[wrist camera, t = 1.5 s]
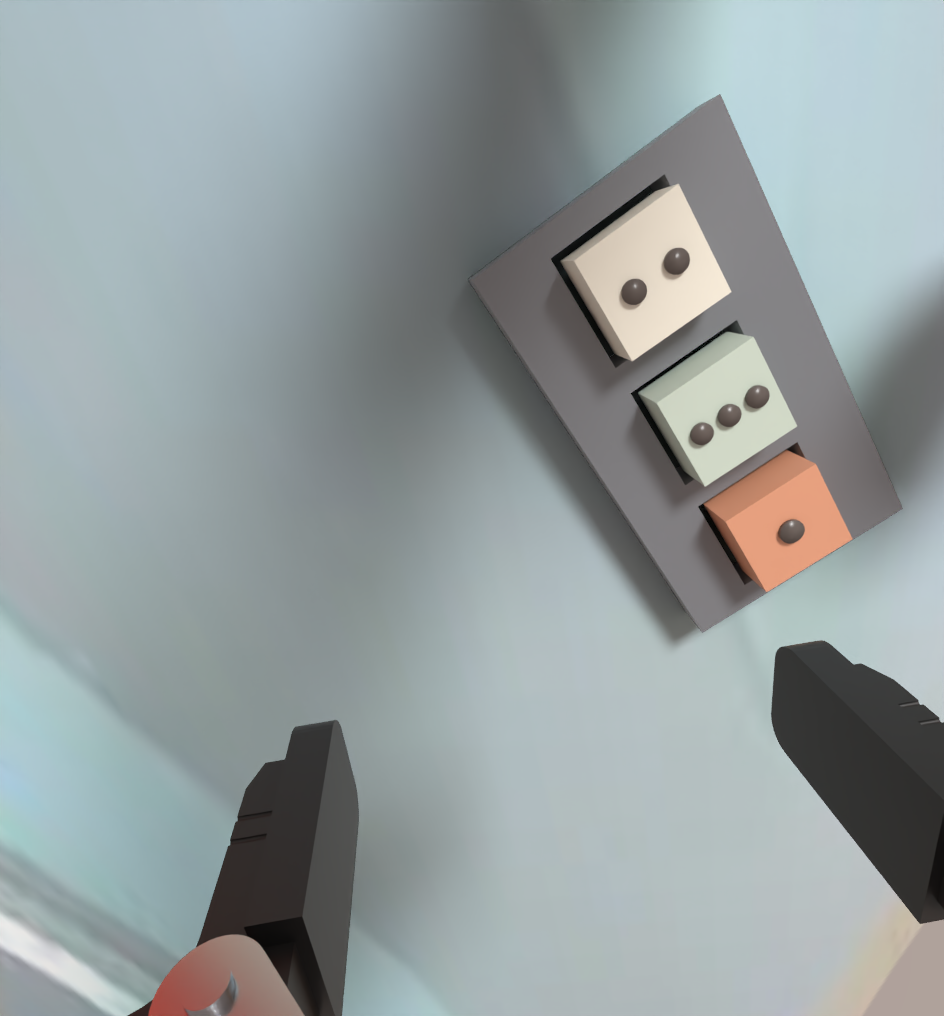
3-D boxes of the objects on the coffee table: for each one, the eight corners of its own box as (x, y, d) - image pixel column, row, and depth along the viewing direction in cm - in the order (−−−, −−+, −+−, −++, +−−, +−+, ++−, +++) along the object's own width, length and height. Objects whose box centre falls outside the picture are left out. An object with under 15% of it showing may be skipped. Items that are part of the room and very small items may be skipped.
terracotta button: (786, 449, 31) (818, 464, 28) (822, 520, 32) (855, 540, 30) (703, 503, 31) (727, 523, 29) (742, 570, 33) (768, 594, 31)
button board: (698, 106, 26) (720, 94, 24) (875, 495, 34) (902, 508, 32) (467, 279, 28) (472, 280, 26) (687, 613, 35) (702, 632, 34)
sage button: (726, 331, 28) (756, 337, 26) (768, 414, 30) (800, 427, 28) (637, 392, 29) (658, 404, 27) (683, 470, 31) (707, 488, 28)
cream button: (655, 191, 26) (680, 182, 24) (705, 290, 28) (734, 291, 25) (559, 261, 27) (575, 260, 24) (614, 354, 28) (633, 362, 26)
